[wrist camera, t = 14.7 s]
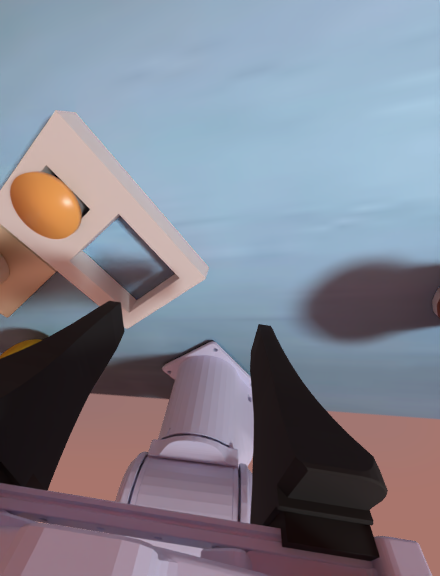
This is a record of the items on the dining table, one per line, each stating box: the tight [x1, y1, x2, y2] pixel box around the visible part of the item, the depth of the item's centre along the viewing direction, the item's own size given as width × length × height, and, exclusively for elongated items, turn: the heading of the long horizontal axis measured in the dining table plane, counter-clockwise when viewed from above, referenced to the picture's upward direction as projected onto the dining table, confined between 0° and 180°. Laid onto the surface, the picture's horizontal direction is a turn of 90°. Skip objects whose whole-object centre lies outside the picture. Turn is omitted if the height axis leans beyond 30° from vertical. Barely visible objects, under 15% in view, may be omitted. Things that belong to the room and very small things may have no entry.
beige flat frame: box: [0, 110, 209, 329], centre depth 20 cm, size 14×10×2 cm
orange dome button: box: [10, 171, 89, 239], centre depth 18 cm, size 4×4×3 cm
